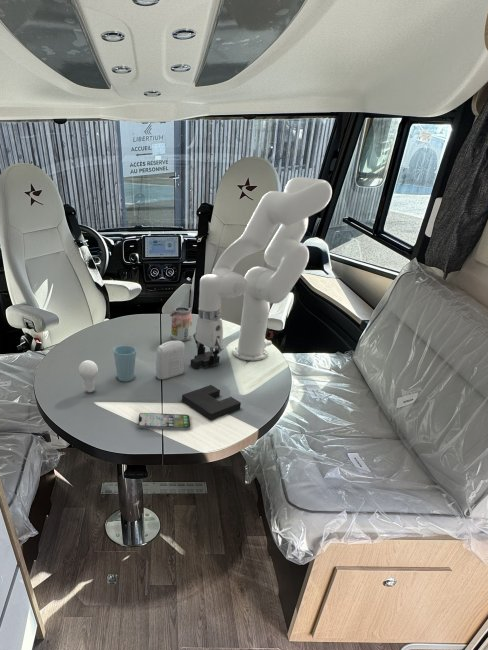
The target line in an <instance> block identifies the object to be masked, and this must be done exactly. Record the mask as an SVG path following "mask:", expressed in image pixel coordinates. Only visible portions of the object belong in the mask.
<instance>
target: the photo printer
mask: <svg viewBox="0 0 488 650" xmlns="http://www.w3.org/2000/svg"><path fill="white" fill-rule="evenodd" d="M185 349H186V347H185V343H184V341H175V340H170V341H166V342H164V343H162V344H160V345H159V346H157V348H156V365H155V366H156V368H155V369H156V372H155V375H156V378H157V379H158V380H166V379H170V378H173V377H177V376H180V375H183V374H184V368H185V367H184V366H185V351H186V350H185Z"/></svg>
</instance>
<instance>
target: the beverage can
mask: <svg viewBox="0 0 488 650" xmlns="http://www.w3.org/2000/svg"><path fill="white" fill-rule="evenodd" d="M192 311H193V309H192V308H190V307H186V306H177V307H174V308H173V310H172V312H171V313H169V316H170V317H171V331H170V332H171V333H170V334H171V336H170V337H171V338H172V341H181V342H187V341H189V340H190V339H191V338H192V323H193V315H192Z"/></svg>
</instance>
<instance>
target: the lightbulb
mask: <svg viewBox="0 0 488 650" xmlns="http://www.w3.org/2000/svg"><path fill="white" fill-rule="evenodd" d="M78 373H79V376H80V377H81V378H82V380H83V383H84V386H85V391H86V392H88V393H92V392H94V391H95V382H96V381H95V380H96V378H97V376H98V374H99V367H98V365H97V363H96V362H94V361H93V360H89V359H87V360H84V361H82V362H81V363H80V364H79V366H78Z"/></svg>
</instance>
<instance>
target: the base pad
mask: <svg viewBox="0 0 488 650" xmlns="http://www.w3.org/2000/svg"><path fill="white" fill-rule="evenodd" d="M220 394H221V390H220V389H219V388H217V387H215V386H214V385H212V384H209V385H205V386H203V387H201V388H197V389H193V390H191V391H189V392H186V393H183V394H181V403H183V404H184V405H186V406H188V407H189V408H190V409H192V410H193V411H195V412H196V413H198V414H199V415H201V416H202V417H204V418H205V419H207V420H208V421H210V422H212V421H214V420H218V419H220V418H222V417H225V416H227V415H229V414H232V413H235V412H237V411H240V410H241V404H242V402H241V401H240V400H238V399H236V398H234V397H233V396H228V397H227V398H224V399H220V400H219V399H217V398H219V397H220V396H221V395H220Z"/></svg>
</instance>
